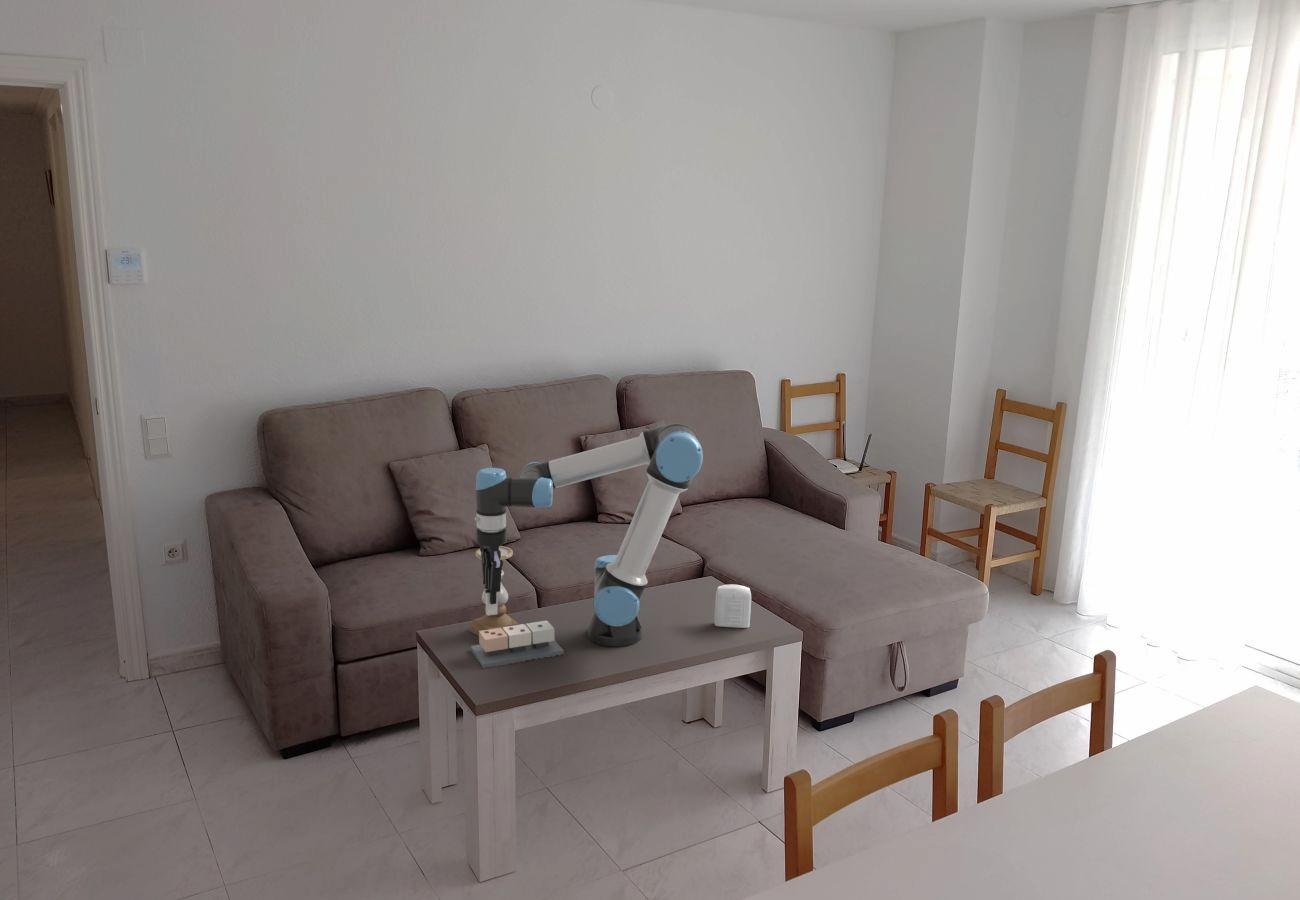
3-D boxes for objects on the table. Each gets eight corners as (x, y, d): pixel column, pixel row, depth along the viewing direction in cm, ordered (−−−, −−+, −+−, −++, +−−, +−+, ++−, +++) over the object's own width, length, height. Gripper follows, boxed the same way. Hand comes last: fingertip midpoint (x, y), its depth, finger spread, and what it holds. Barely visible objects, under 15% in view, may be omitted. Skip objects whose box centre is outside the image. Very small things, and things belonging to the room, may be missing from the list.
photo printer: (749, 623, 296) (751, 583, 293) (750, 629, 292) (751, 588, 289) (714, 621, 296) (715, 581, 294) (714, 627, 292) (715, 587, 289)
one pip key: (547, 632, 279) (547, 619, 279) (554, 640, 274) (554, 627, 273) (526, 635, 277) (525, 622, 276) (533, 644, 272) (532, 631, 271)
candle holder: (468, 630, 287) (466, 549, 282) (503, 621, 294) (501, 542, 288) (488, 643, 279) (486, 560, 273) (522, 634, 285) (521, 553, 280)
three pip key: (501, 639, 274) (500, 626, 273) (507, 648, 269) (507, 635, 268) (479, 643, 272) (479, 630, 271) (485, 652, 266) (485, 638, 265)
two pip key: (524, 636, 277) (524, 623, 276) (531, 644, 271) (531, 631, 271) (502, 639, 274) (502, 626, 273) (509, 648, 269) (509, 635, 268)
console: (548, 637, 283) (548, 624, 282) (563, 654, 273) (563, 641, 272) (471, 650, 274) (470, 637, 273) (483, 668, 264) (483, 654, 263)
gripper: (470, 522, 267) (471, 606, 272) (483, 537, 255) (484, 625, 261) (498, 519, 270) (498, 603, 275) (512, 534, 258) (512, 621, 264)
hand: (491, 613), depth 268 cm, fingers closed
